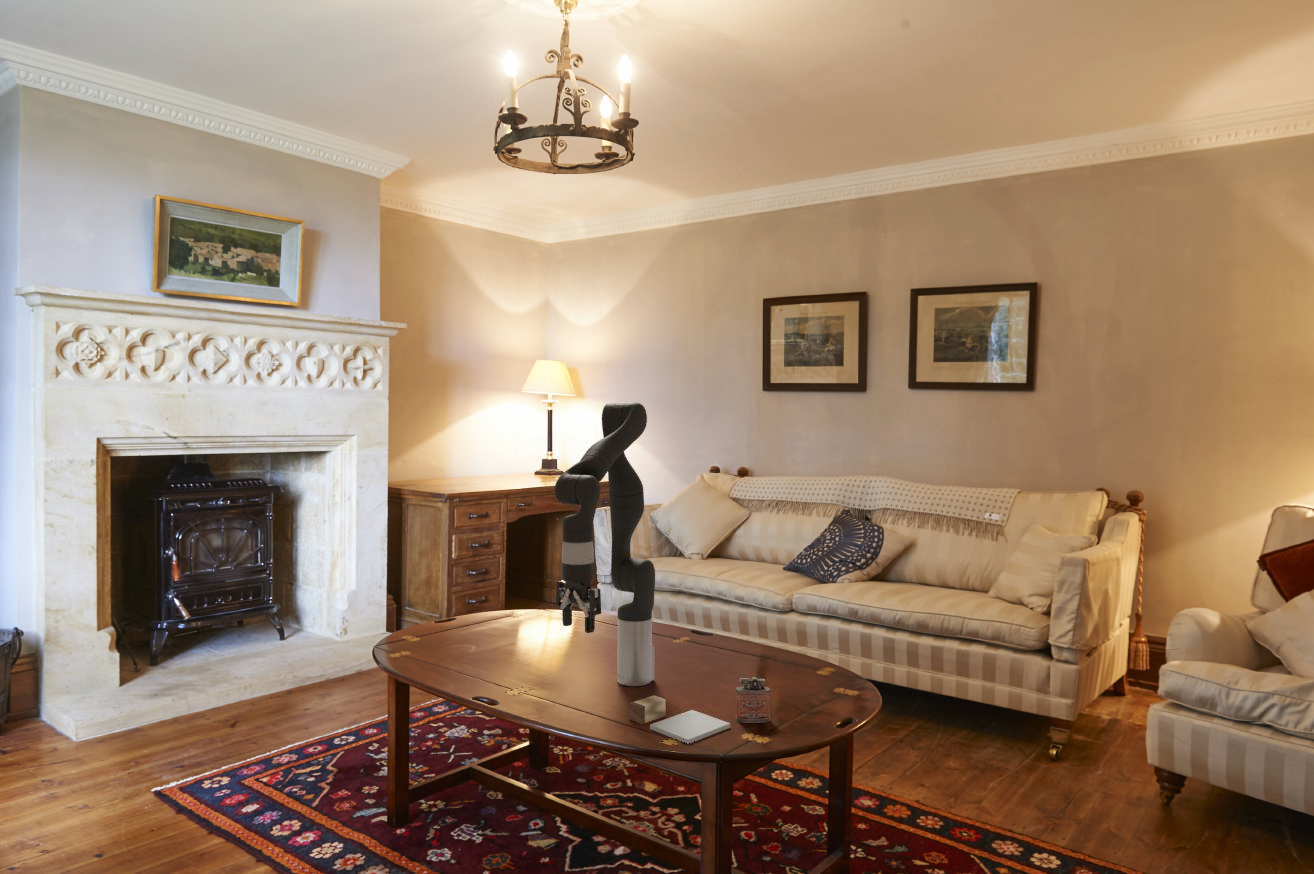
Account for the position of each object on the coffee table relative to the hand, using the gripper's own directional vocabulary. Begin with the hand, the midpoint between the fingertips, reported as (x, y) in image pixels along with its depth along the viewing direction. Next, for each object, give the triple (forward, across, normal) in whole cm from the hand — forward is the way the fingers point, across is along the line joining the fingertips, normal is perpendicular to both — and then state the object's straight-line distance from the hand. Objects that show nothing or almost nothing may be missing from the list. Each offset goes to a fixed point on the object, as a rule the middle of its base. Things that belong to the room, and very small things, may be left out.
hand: (578, 628), depth 192 cm
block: (+22, -10, -13) cm, 27 cm away
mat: (+22, -22, -16) cm, 34 cm away
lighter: (+22, -28, -30) cm, 46 cm away
